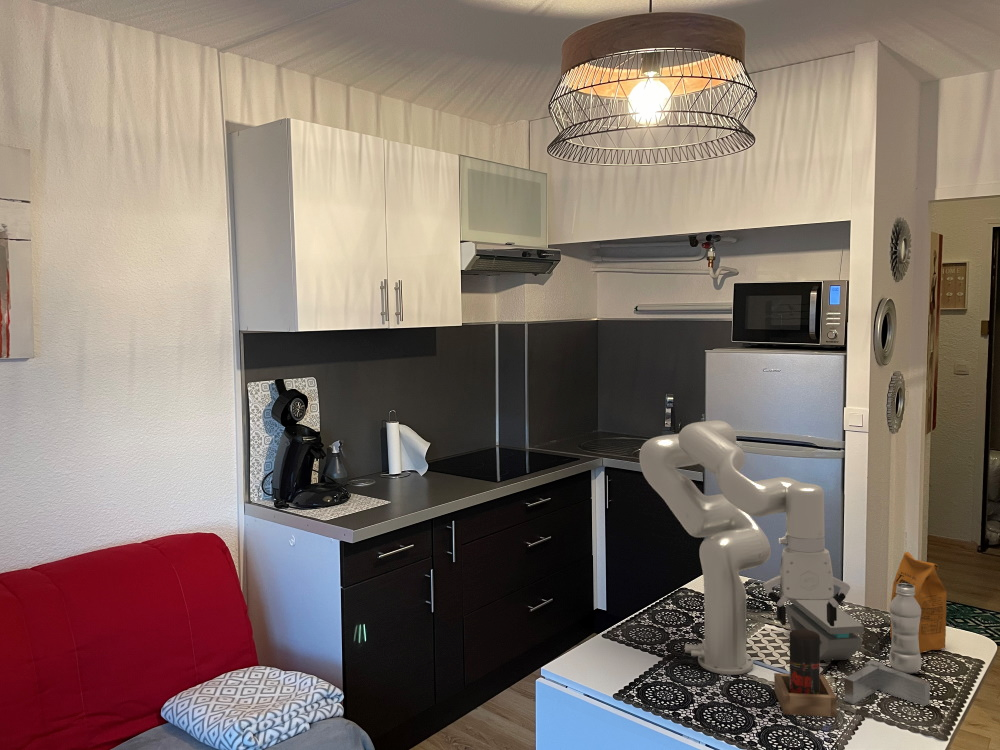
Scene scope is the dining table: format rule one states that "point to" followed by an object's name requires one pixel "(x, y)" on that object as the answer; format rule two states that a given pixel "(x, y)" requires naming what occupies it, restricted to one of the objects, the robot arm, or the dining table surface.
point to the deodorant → (804, 662)
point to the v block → (885, 684)
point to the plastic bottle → (905, 630)
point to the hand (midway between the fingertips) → (806, 623)
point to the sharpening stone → (826, 628)
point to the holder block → (805, 698)
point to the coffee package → (925, 600)
